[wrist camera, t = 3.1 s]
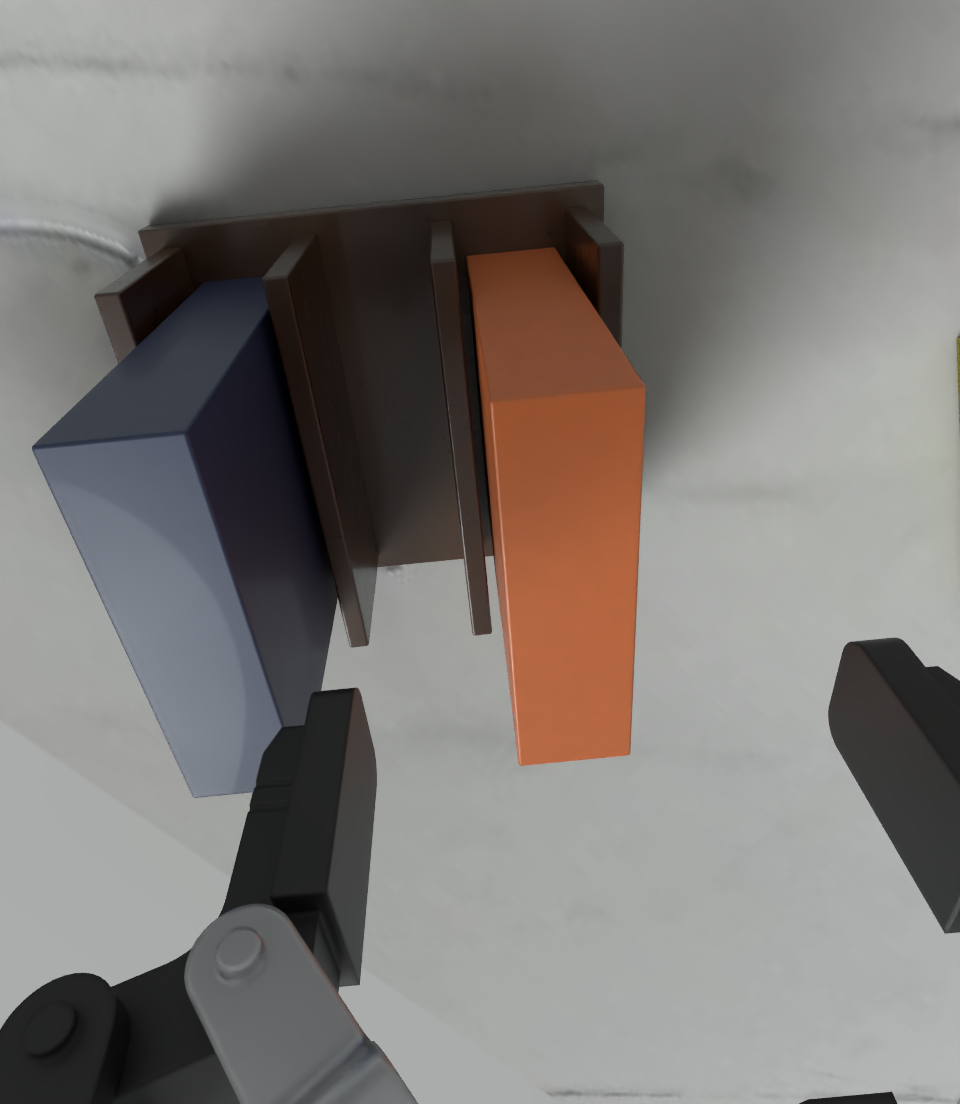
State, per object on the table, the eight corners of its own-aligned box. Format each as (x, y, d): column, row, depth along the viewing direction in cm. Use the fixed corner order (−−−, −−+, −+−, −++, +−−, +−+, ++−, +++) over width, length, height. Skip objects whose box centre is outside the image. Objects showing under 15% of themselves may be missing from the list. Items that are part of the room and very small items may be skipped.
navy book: (276, 542, 26) (193, 799, 17) (203, 281, 21) (28, 446, 12) (349, 535, 26) (304, 788, 17) (293, 272, 21) (186, 431, 12)
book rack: (253, 567, 28) (214, 674, 23) (146, 225, 21) (61, 274, 16) (597, 533, 28) (631, 633, 23) (599, 180, 21) (647, 215, 16)
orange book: (489, 521, 26) (518, 767, 17) (465, 255, 21) (489, 401, 12) (562, 514, 26) (630, 756, 17) (555, 246, 21) (647, 385, 12)
